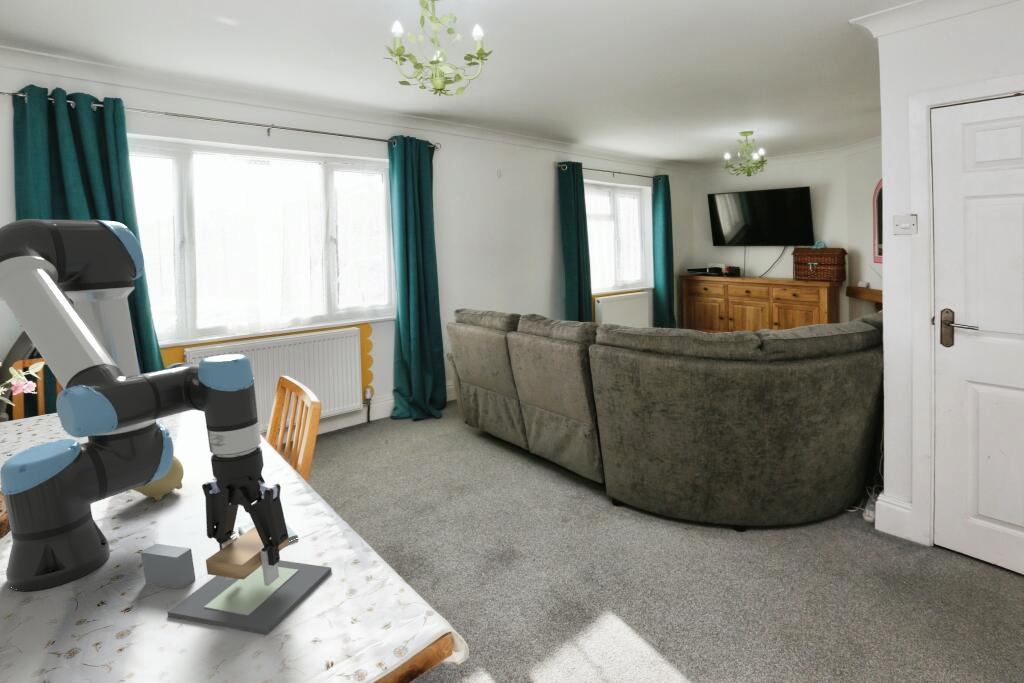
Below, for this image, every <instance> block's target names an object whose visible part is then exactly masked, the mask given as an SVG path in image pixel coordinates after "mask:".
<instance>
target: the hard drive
mask: <svg viewBox="0 0 1024 683" xmlns="http://www.w3.org/2000/svg"><path fill="white" fill-rule="evenodd" d="M285 523H286V527H287V531H288V539H289V541H291V540H294V539H296V538H298V539H299V535H298V534H297V533H296V531H294V529H292V527H291V526H290V525H288V524H287V522H286V521H285ZM253 527H255V525H254V523H253V521H252V522H249V523H246V524H243V525H241V526H239V527H238V532H239V533H241V534H240V536H241V535H243V534H244V533H246V532H247V531H249V530H250V529H252V528H253Z"/></svg>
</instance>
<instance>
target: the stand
mask: <svg viewBox="0 0 1024 683" xmlns="http://www.w3.org/2000/svg"><path fill="white" fill-rule="evenodd" d="M140 557H141V561H142V562H141V563H142V569H143V575H144V581H145V584H148V585H153V586H161V587H165V588H166V587H167V588H172V589H178V590H183V589H184V588H185V587H187V586H189V585H190V584H191V583H192V582H194V581H196V573H195V567H194V566H195V565H194V559H193V558H194V557H193V553H192V547H191V548H189V547H184V546H176V545H171V544H170V545H169V544H161V543H154V544H153V545H150V546H149V547H147V548H145V549H143V550H142V551H140Z"/></svg>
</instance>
